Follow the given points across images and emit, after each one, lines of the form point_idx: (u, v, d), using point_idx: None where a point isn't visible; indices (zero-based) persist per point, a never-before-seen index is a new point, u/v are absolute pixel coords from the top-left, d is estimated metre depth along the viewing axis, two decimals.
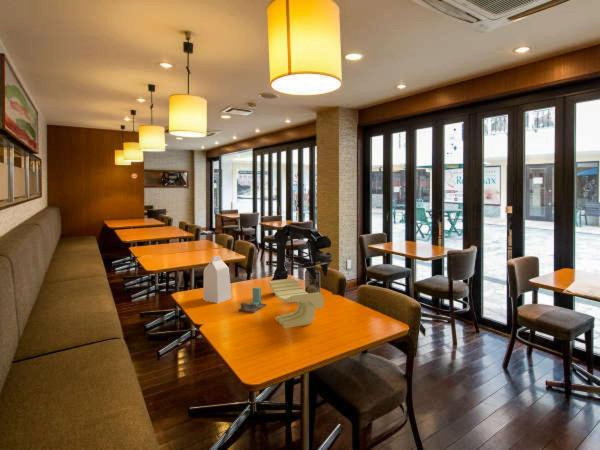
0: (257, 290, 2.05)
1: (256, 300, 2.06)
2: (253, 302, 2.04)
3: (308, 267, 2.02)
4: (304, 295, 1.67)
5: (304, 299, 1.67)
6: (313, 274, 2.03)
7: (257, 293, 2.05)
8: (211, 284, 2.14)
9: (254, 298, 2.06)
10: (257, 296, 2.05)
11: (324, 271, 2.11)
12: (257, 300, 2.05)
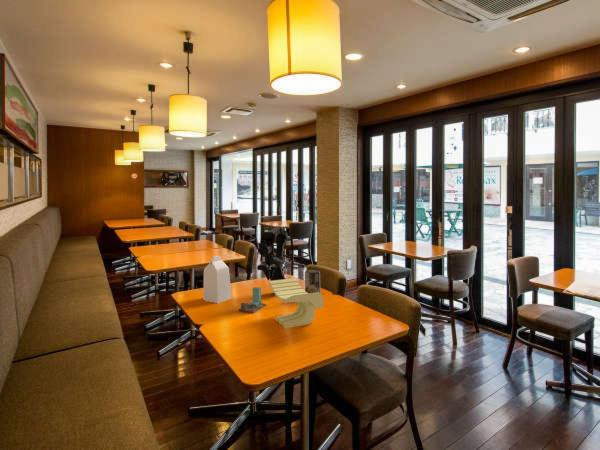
0: (257, 290, 2.05)
1: (256, 300, 2.06)
2: (253, 302, 2.04)
3: None
4: (304, 295, 1.67)
5: (304, 299, 1.67)
6: (267, 275, 2.12)
7: (257, 293, 2.05)
8: (211, 284, 2.14)
9: (254, 298, 2.06)
10: (257, 296, 2.05)
11: (270, 274, 2.16)
12: (257, 300, 2.05)
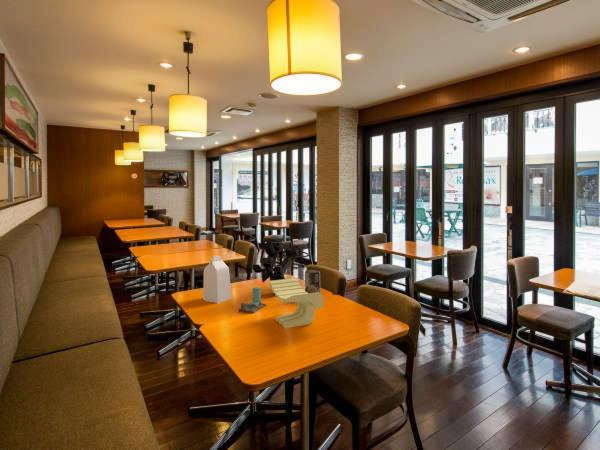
0: (257, 290, 2.05)
1: (256, 300, 2.06)
2: (253, 302, 2.04)
3: None
4: (304, 295, 1.67)
5: (304, 299, 1.67)
6: None
7: (257, 293, 2.05)
8: (211, 284, 2.14)
9: (254, 298, 2.06)
10: (257, 296, 2.05)
11: None
12: (257, 300, 2.05)
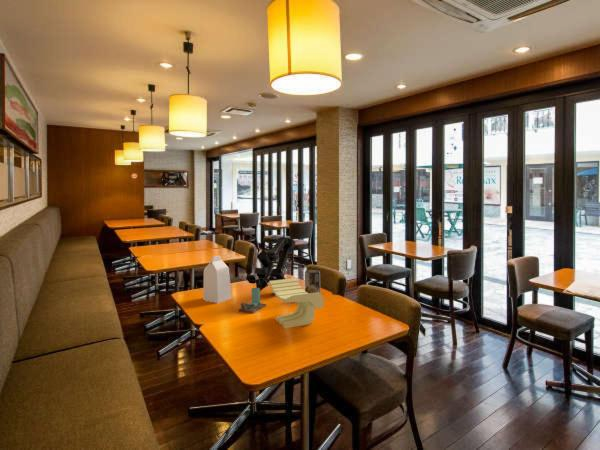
0: (256, 290, 2.04)
1: (255, 301, 2.05)
2: (252, 303, 2.03)
3: None
4: (304, 295, 1.67)
5: (304, 299, 1.67)
6: None
7: (256, 294, 2.04)
8: (211, 284, 2.14)
9: (253, 299, 2.05)
10: (256, 297, 2.04)
11: None
12: (256, 301, 2.04)
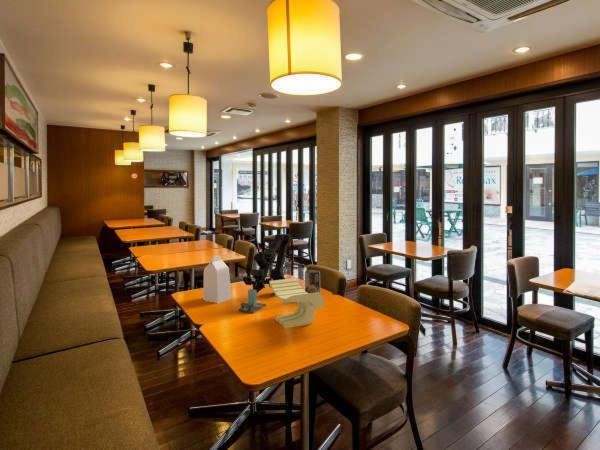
0: (252, 292, 2.00)
1: (251, 303, 2.01)
2: None
3: None
4: (304, 295, 1.67)
5: (304, 299, 1.67)
6: None
7: (252, 295, 2.00)
8: (211, 284, 2.14)
9: (249, 300, 2.02)
10: (252, 298, 2.01)
11: None
12: (252, 303, 2.01)
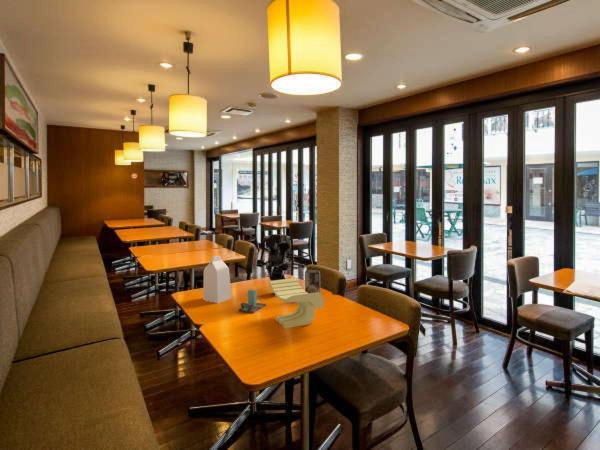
0: (252, 292, 2.00)
1: (251, 303, 2.01)
2: None
3: (266, 266, 2.16)
4: (304, 295, 1.67)
5: (304, 299, 1.67)
6: (269, 274, 2.14)
7: (252, 295, 2.00)
8: (211, 284, 2.14)
9: (249, 300, 2.02)
10: (252, 298, 2.01)
11: None
12: (252, 303, 2.01)
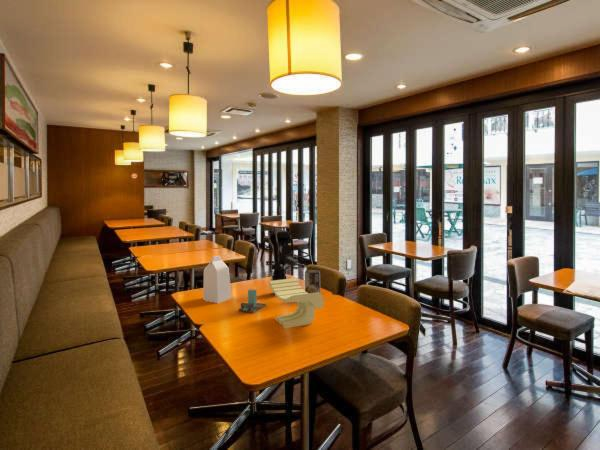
0: (252, 292, 2.00)
1: (251, 303, 2.01)
2: None
3: None
4: (304, 295, 1.67)
5: (304, 299, 1.67)
6: (282, 274, 2.14)
7: (252, 295, 2.00)
8: (211, 284, 2.14)
9: (249, 300, 2.02)
10: (252, 298, 2.01)
11: None
12: (252, 303, 2.01)
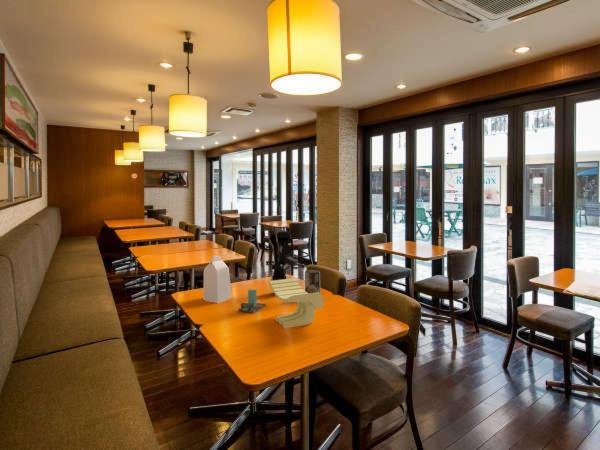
0: (252, 292, 2.00)
1: (251, 303, 2.01)
2: None
3: None
4: (304, 295, 1.67)
5: (304, 299, 1.67)
6: (282, 274, 2.14)
7: (252, 295, 2.00)
8: (211, 284, 2.14)
9: (249, 300, 2.02)
10: (252, 298, 2.01)
11: None
12: (252, 303, 2.01)
